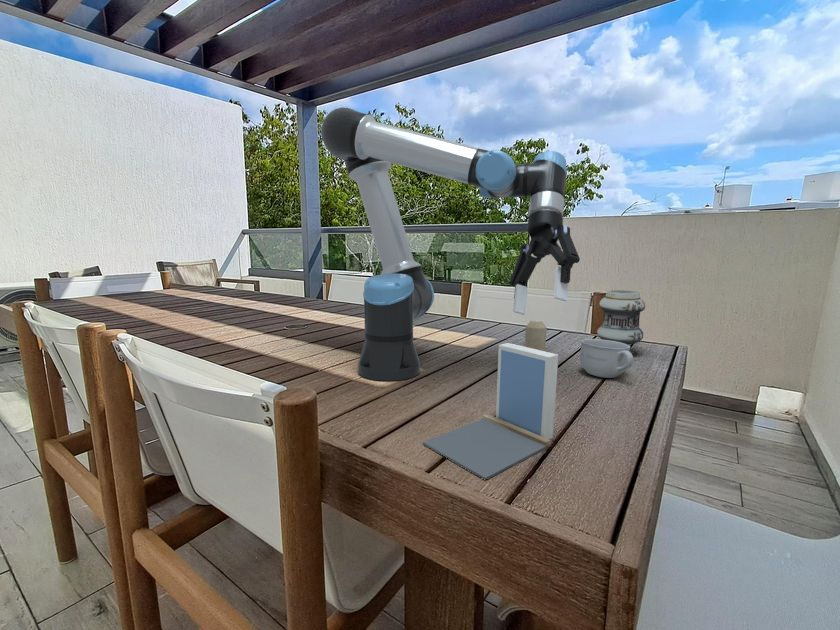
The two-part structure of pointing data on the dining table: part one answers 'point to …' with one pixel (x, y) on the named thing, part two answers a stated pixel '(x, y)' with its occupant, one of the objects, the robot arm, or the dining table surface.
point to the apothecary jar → (621, 317)
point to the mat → (484, 448)
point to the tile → (527, 388)
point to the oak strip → (517, 430)
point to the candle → (535, 335)
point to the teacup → (605, 357)
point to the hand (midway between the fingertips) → (538, 306)
